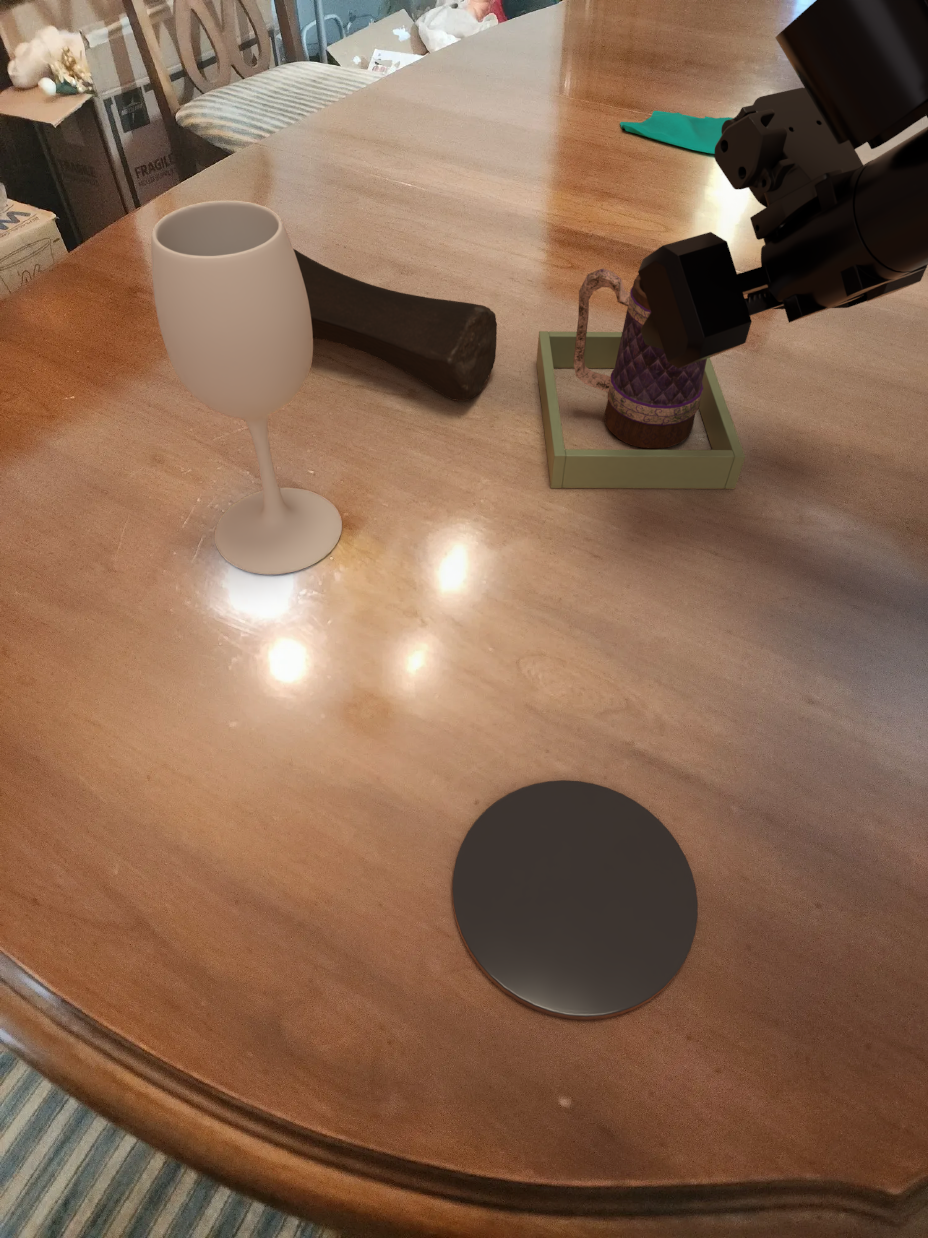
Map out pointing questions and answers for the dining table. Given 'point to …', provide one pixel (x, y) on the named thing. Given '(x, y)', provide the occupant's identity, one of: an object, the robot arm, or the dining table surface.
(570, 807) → the coaster
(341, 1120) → the dining table surface
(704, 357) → the robot arm
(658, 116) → the cloth
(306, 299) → the wineglass
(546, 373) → the frame
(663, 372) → the mug
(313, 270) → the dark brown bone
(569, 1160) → the dining table surface
